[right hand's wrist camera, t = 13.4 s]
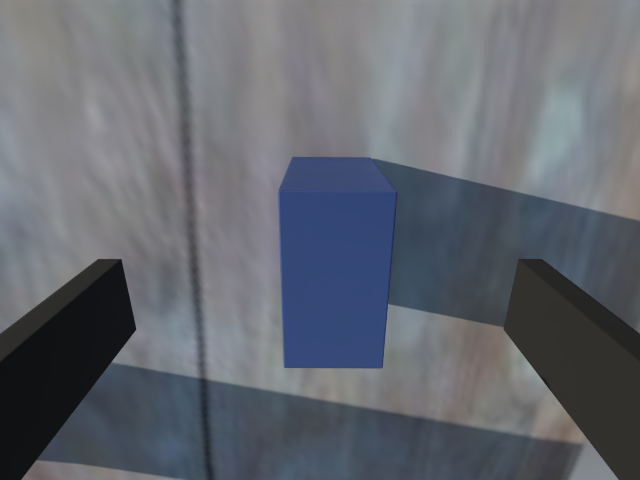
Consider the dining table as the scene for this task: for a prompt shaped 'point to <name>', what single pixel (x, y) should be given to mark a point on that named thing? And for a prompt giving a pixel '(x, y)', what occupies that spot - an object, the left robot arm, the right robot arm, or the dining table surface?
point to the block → (335, 261)
